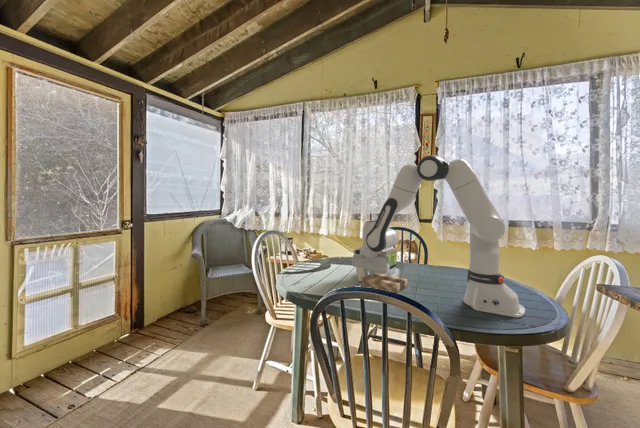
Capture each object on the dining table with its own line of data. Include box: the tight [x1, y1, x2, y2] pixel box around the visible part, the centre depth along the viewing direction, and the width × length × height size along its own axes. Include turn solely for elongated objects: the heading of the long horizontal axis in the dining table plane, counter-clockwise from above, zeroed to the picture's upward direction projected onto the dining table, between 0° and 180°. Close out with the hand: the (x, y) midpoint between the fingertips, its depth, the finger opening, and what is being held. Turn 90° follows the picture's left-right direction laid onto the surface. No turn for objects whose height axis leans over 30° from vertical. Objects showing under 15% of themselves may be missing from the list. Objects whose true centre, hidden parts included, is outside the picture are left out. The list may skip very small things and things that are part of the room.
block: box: [355, 267, 367, 282], centre depth 157 cm, size 4×4×7 cm
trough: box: [361, 272, 408, 294], centre depth 150 cm, size 19×12×4 cm, turn 51°
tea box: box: [369, 246, 398, 276], centre depth 171 cm, size 15×10×15 cm
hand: (370, 278), depth 155 cm, fingers closed
